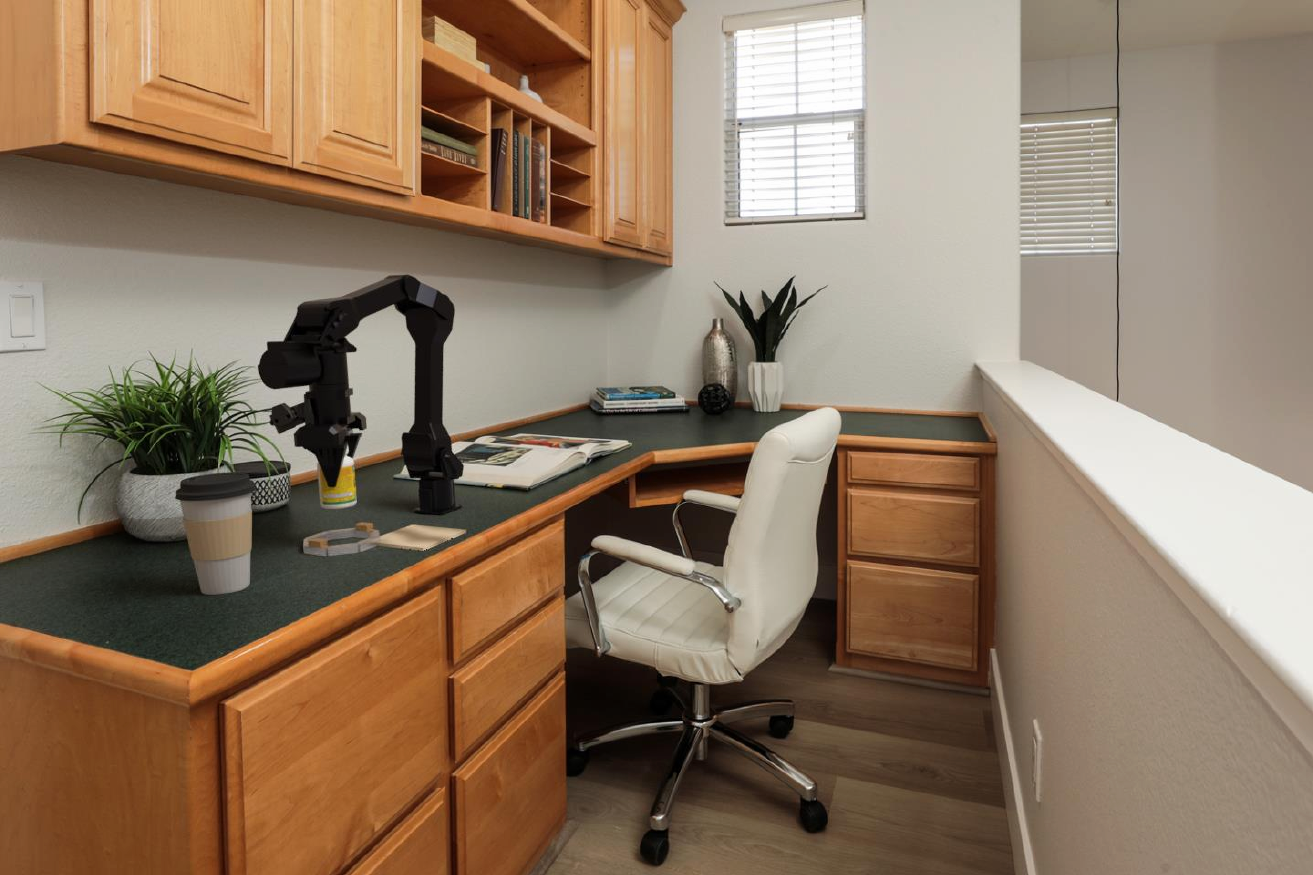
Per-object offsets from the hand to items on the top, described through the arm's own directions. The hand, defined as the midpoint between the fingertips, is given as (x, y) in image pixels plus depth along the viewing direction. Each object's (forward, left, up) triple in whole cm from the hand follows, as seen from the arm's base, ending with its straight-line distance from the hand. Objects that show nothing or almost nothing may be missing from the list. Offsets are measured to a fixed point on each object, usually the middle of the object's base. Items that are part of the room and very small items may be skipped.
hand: (337, 483), depth 124 cm
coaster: (-7, +9, -10) cm, 15 cm away
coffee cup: (+21, 0, -10) cm, 23 cm away
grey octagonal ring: (0, 0, -10) cm, 10 cm away
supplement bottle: (0, 0, -4) cm, 4 cm away
